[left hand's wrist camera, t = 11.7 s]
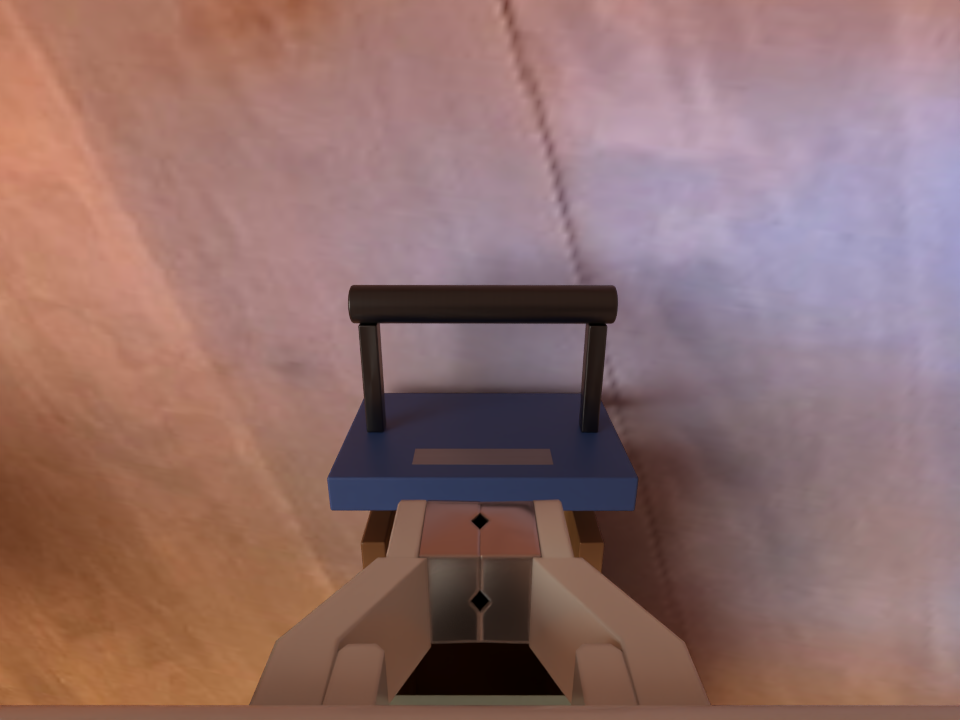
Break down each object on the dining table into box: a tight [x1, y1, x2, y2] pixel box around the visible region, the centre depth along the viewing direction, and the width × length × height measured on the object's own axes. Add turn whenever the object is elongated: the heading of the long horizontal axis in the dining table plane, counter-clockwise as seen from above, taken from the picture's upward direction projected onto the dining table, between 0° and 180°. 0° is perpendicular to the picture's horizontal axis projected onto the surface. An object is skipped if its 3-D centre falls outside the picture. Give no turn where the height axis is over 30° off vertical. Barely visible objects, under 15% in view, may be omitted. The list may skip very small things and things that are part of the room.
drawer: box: [327, 285, 638, 695], centre depth 22 cm, size 23×9×6 cm, turn 0°
